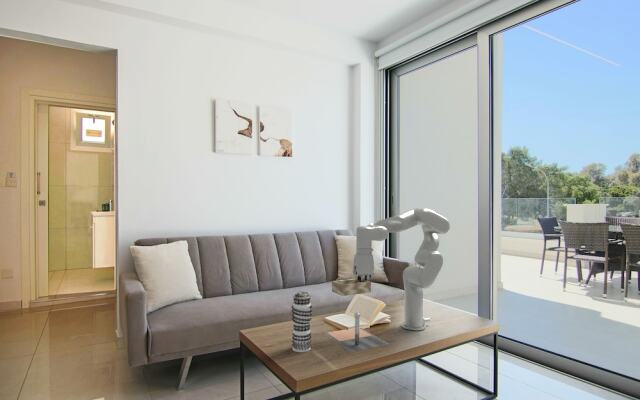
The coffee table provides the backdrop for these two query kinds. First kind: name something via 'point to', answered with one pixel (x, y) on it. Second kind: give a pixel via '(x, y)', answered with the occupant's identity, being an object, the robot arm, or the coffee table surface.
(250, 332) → the coffee table surface
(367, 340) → the pin stand
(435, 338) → the coffee table surface
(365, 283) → the open wooden box
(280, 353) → the coffee table surface
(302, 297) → the decorative candle
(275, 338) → the coffee table surface
